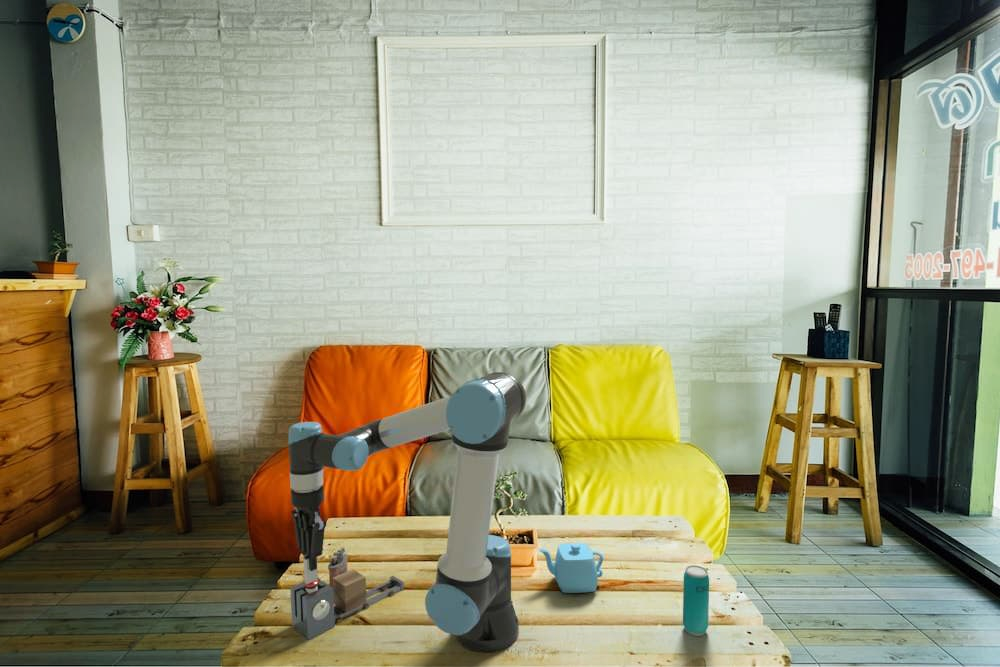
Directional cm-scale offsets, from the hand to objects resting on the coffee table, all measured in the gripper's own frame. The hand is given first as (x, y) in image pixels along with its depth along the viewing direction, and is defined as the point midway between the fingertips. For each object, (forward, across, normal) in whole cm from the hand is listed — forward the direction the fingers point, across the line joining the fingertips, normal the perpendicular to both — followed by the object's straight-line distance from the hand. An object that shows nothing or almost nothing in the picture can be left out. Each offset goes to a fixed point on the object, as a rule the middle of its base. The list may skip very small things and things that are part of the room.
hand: (311, 580), depth 138 cm
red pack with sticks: (+12, +12, -14) cm, 22 cm away
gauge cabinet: (+12, 0, 0) cm, 12 cm away
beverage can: (+12, -69, -62) cm, 94 cm away
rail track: (+12, 0, -11) cm, 16 cm away
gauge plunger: (+7, 0, 0) cm, 7 cm away
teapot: (+12, -35, -58) cm, 69 cm away
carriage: (+10, 0, -10) cm, 14 cm away
